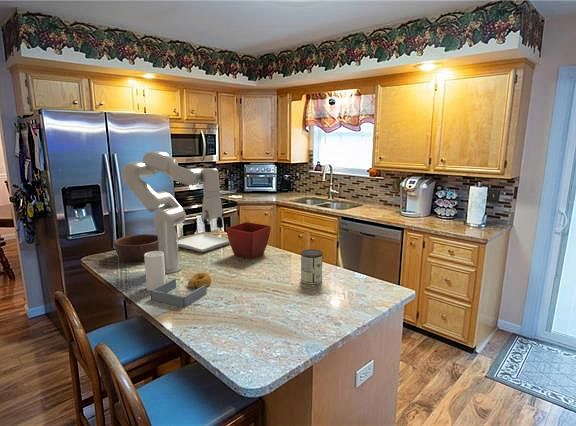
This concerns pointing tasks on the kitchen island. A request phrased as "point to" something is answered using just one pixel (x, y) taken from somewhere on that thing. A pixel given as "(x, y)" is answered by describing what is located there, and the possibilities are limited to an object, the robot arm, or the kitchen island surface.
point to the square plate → (202, 242)
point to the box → (162, 296)
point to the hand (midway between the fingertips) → (214, 229)
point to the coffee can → (311, 266)
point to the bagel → (199, 280)
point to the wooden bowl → (135, 247)
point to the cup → (154, 269)
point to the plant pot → (248, 239)
